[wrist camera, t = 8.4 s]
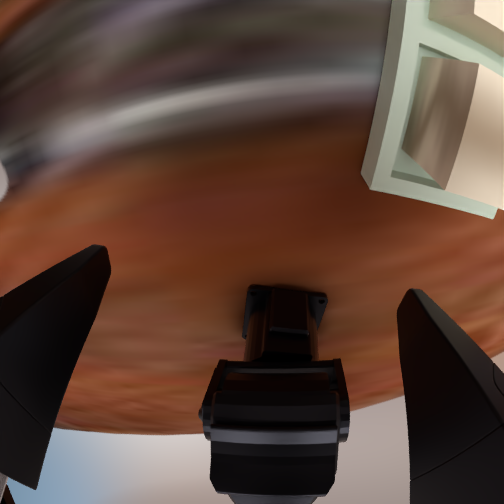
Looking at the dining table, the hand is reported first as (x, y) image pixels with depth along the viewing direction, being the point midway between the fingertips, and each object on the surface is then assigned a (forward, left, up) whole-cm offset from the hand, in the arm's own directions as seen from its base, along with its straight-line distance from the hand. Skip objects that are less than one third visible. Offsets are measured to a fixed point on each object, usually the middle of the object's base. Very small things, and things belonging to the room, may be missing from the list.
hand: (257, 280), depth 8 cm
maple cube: (+5, -11, -11) cm, 16 cm away
